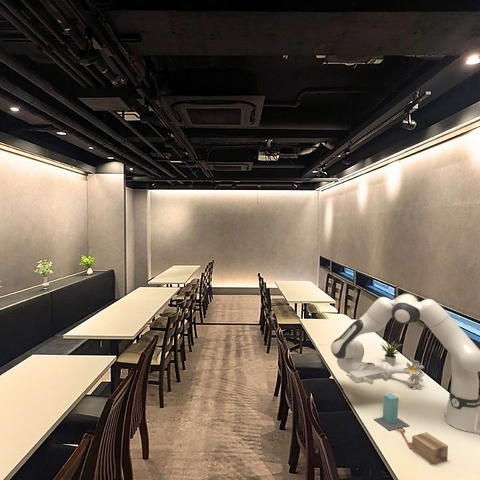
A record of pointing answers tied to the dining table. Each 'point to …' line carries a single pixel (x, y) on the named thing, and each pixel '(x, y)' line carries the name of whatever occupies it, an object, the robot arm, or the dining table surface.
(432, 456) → the block
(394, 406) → the tall teal pillar
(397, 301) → the robot arm
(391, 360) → the house plant
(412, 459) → the dining table surface
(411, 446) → the key
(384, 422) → the mat
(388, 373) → the flower vase
